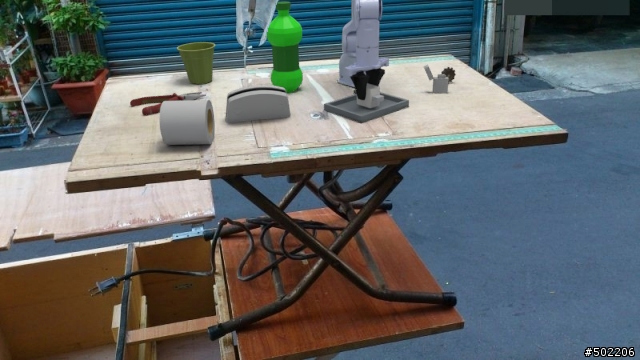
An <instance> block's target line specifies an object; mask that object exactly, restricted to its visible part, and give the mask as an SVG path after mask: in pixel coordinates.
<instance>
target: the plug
mask: <svg viewBox="0 0 640 360" xmlns="http://www.w3.org/2000/svg"><path fill="white" fill-rule="evenodd" d="M380 92H381V86H375V85H371V84H368V83H367V87H366V97H365V100H360V99H358V97H357V104H358V105H361V106H365V107H368V108H373V107H376V106H379V103H380V102H381V101H384V96H382V95H380ZM355 94H357V93H356V89H353V95H355Z"/></svg>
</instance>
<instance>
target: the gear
mask: <svg viewBox="0 0 640 360" xmlns="http://www.w3.org/2000/svg"><path fill="white" fill-rule="evenodd" d="M455 72H456V70H455V69H454V68H453V67H450V66H447V68H443V70H441V73H440V74H444V75H446V77H448V78H449V81H448V84H449V83H452V82H453V80H455V76H457V73H455Z"/></svg>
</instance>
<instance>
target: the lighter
mask: <svg viewBox="0 0 640 360" xmlns="http://www.w3.org/2000/svg"><path fill="white" fill-rule="evenodd" d="M423 69H424V70H425V73H426V76H427V78H428V80H429V81H432V90H431V92H432V94H448V93H449V83H448V81H449V78H448V77H446V75H444V74H441V73H438V74H437V76H433V73H432V71H431V69H430V66H429V64H425V65H424V66H423Z"/></svg>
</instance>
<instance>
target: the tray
mask: <svg viewBox="0 0 640 360" xmlns="http://www.w3.org/2000/svg"><path fill="white" fill-rule="evenodd" d="M380 95H382V96H384V101H381V102H380V103H379V106H376V107H373V108H368V107H365V106H361V105H358V104H357V94H352V95H351V94H350V95H349V96H345V97H342V98H339V99H336V100H331V101H328V102H325V103H323V111H325V112H327V113H331V114H334V115H335V116H336V115H337V116H338V117H339V116H340V117H341V118H346V119H348V120H351V121H354V122H357V123H360V124H364V123H366V122H370V121H372V120H375V119H377V118H380V117H384V116H386V115H389V114H392V113H394V112H395V113H396V112H398V111H400V110H403V109H406V108H409V106H410V100H409V99H406V98H403V97H399V96H396V95H392V94H389V93H385V92H381V91H380Z"/></svg>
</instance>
